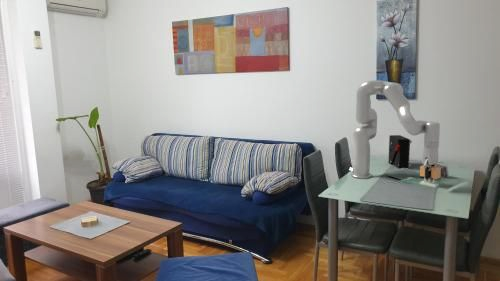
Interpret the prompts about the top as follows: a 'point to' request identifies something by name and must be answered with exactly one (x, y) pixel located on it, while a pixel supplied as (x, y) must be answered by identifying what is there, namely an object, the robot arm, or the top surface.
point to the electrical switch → (443, 169)
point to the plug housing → (434, 172)
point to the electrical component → (399, 151)
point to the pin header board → (425, 182)
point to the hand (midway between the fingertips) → (429, 176)
